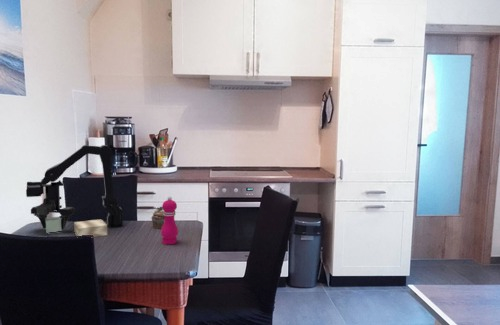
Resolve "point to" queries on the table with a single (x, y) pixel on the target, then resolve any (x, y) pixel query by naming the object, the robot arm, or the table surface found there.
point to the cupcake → (158, 218)
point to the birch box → (90, 228)
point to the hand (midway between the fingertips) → (53, 228)
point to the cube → (53, 224)
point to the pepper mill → (169, 222)
